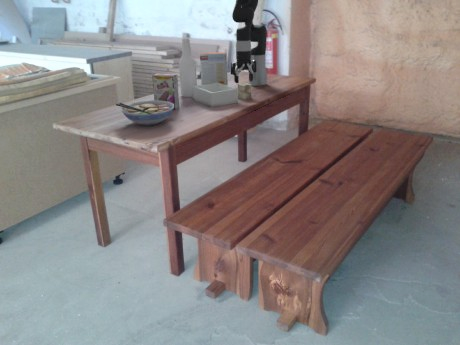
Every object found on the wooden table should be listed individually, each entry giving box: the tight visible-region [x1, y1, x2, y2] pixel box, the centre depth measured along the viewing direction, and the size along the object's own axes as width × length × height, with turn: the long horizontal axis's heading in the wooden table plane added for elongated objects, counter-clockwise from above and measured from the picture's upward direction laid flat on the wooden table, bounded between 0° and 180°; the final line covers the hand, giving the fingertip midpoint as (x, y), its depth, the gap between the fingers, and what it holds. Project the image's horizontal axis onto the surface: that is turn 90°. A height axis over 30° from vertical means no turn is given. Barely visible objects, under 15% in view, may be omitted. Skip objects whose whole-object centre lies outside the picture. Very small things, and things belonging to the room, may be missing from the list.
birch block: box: [237, 82, 252, 100], centre depth 235 cm, size 5×5×7 cm
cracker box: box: [199, 51, 229, 86], centre depth 247 cm, size 14×6×21 cm, turn 84°
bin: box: [192, 83, 239, 108], centre depth 230 cm, size 15×19×7 cm
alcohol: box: [178, 37, 198, 98], centre depth 238 cm, size 9×9×30 cm
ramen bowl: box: [115, 99, 174, 126], centre depth 196 cm, size 25×23×8 cm
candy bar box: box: [152, 73, 180, 111], centre depth 217 cm, size 11×5×16 cm, turn 71°
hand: (243, 82), depth 233 cm, fingers open, 8 cm apart
